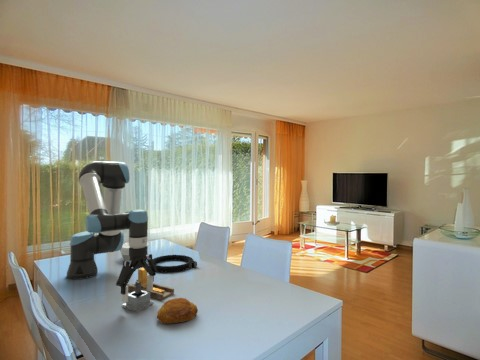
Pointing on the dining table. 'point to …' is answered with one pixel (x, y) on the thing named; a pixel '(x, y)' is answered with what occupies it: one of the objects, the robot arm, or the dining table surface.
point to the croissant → (177, 311)
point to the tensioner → (145, 280)
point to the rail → (154, 294)
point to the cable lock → (188, 265)
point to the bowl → (126, 251)
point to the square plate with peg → (137, 293)
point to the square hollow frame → (138, 299)
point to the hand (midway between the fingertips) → (138, 295)
